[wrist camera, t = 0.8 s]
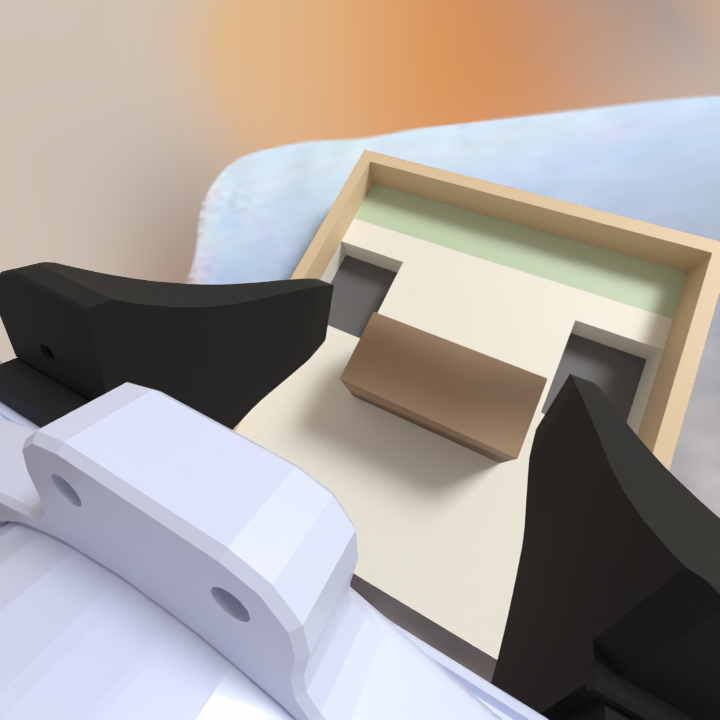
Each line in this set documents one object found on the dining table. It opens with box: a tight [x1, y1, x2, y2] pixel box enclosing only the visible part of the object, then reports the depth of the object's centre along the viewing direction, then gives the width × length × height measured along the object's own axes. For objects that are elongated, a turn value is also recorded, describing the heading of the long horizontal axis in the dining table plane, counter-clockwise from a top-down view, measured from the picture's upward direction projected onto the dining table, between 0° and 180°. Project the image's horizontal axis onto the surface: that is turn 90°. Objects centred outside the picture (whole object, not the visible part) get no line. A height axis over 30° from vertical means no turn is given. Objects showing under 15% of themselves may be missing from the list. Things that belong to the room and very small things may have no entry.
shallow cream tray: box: [233, 150, 720, 660], centre depth 22 cm, size 24×22×4 cm
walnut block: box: [340, 312, 547, 463], centre depth 20 cm, size 4×9×4 cm, turn 64°
